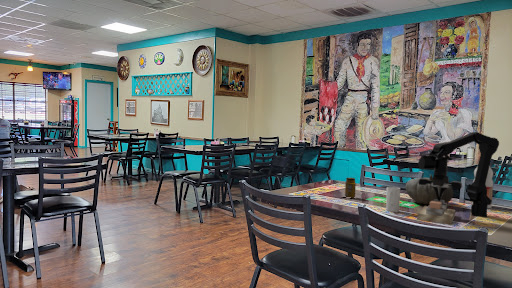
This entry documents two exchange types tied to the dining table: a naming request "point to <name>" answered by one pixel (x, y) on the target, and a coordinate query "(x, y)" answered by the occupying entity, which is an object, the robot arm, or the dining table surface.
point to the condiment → (350, 187)
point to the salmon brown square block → (435, 205)
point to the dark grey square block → (440, 201)
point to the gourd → (426, 192)
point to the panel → (436, 214)
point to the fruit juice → (488, 184)
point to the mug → (392, 199)
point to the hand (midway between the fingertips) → (439, 200)
